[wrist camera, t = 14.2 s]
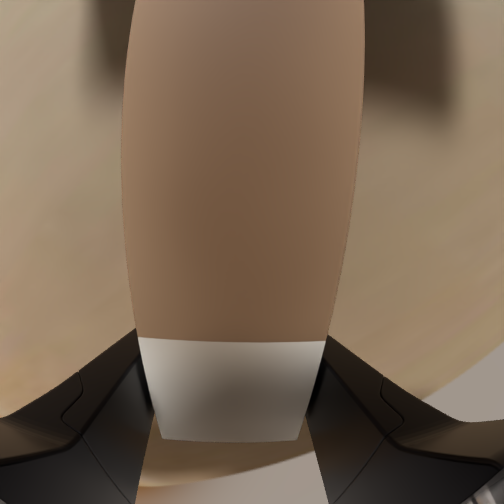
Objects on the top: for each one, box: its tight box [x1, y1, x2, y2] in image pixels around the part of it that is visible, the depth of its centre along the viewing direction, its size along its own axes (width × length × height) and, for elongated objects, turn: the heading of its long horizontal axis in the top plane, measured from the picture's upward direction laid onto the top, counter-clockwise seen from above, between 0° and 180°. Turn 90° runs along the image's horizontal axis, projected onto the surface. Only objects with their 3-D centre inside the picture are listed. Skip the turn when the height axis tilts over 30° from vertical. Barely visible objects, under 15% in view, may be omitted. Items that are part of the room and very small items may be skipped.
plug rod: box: [121, 0, 365, 443], centre depth 6 cm, size 4×16×4 cm, turn 176°
